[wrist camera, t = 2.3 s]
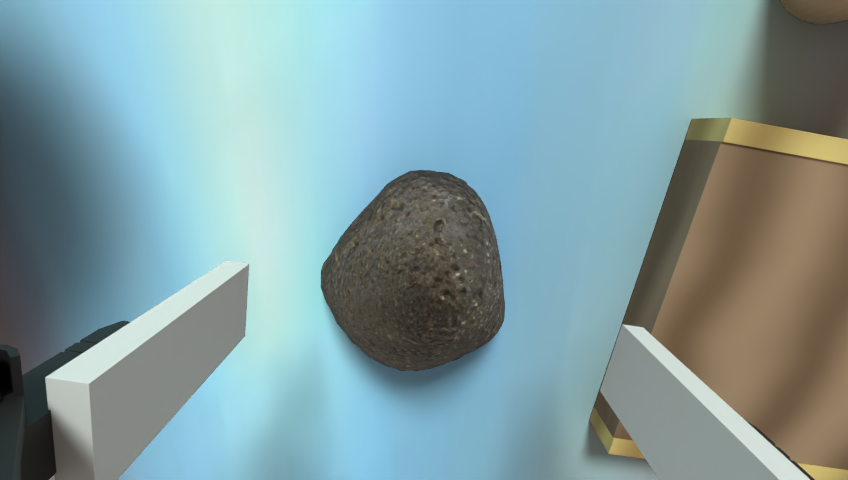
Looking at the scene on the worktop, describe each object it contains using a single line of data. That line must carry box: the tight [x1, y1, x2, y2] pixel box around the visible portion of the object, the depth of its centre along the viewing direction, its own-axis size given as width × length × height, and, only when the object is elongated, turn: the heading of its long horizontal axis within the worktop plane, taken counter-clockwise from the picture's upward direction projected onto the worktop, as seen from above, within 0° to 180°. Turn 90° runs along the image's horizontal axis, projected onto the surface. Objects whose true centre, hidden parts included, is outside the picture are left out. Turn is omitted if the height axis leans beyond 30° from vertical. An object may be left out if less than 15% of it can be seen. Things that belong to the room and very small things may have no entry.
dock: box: [589, 118, 848, 480], centre depth 21 cm, size 16×18×3 cm
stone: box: [321, 170, 505, 371], centre depth 20 cm, size 10×8×10 cm
